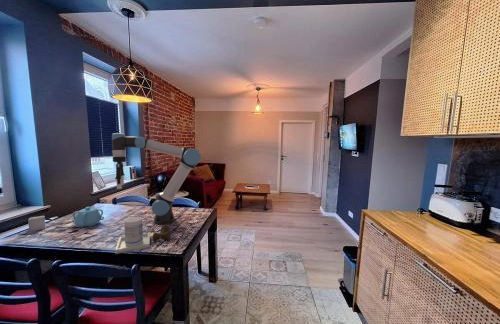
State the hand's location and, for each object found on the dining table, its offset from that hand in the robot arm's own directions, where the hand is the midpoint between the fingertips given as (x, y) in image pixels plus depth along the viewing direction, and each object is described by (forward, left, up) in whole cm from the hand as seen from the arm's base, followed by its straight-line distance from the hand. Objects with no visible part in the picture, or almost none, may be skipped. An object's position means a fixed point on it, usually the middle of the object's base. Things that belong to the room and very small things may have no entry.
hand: (120, 186), depth 139 cm
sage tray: (-9, +25, -32) cm, 41 cm away
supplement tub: (-9, +24, -31) cm, 40 cm away
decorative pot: (+24, -23, -32) cm, 46 cm away
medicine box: (+54, -27, -32) cm, 69 cm away
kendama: (-25, +22, -32) cm, 47 cm away
